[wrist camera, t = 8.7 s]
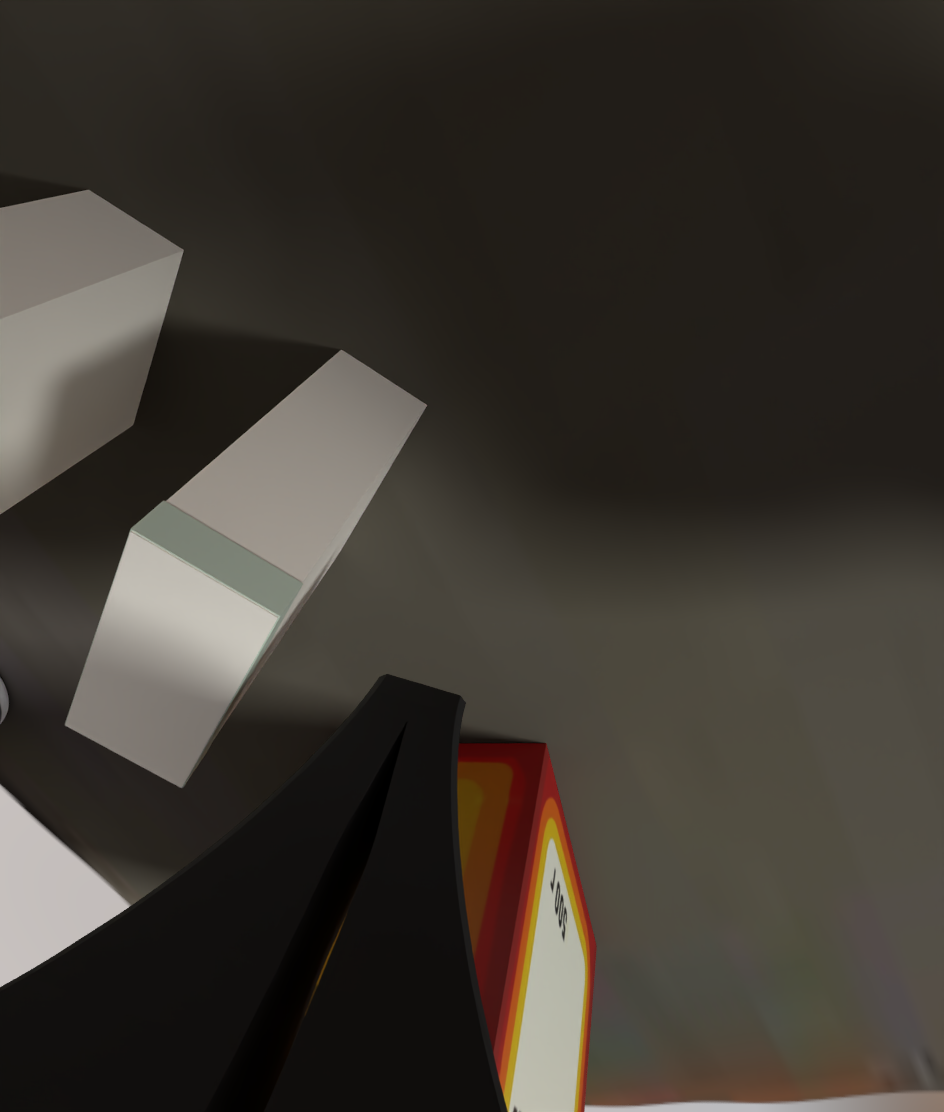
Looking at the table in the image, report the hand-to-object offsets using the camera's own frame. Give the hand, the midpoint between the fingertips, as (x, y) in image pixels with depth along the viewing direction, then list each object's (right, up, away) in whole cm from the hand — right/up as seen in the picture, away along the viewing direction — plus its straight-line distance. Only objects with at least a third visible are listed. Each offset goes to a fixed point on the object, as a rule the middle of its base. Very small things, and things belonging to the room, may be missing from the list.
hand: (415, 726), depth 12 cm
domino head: (-2, +5, +4) cm, 7 cm away
